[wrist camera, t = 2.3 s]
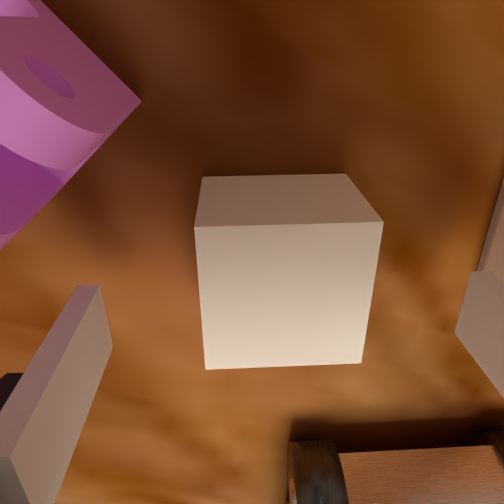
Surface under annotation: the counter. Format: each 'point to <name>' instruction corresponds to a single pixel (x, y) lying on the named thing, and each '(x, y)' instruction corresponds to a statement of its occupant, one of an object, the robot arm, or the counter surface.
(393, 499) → the trolley
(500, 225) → the tray
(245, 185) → the off-white matte cube
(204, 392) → the counter surface
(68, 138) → the bracket
